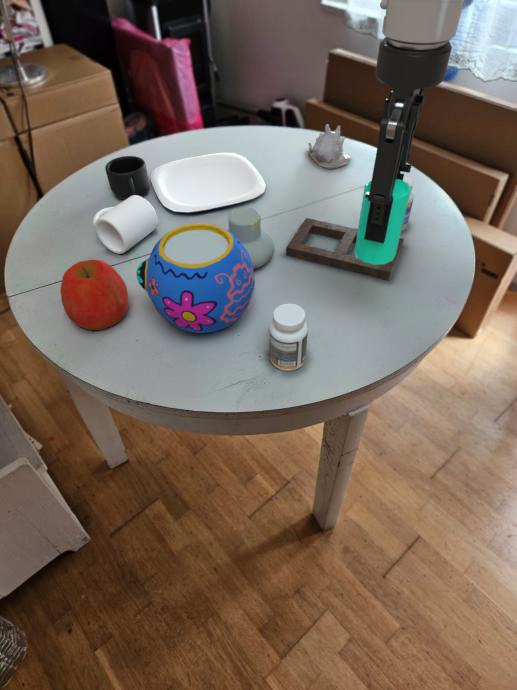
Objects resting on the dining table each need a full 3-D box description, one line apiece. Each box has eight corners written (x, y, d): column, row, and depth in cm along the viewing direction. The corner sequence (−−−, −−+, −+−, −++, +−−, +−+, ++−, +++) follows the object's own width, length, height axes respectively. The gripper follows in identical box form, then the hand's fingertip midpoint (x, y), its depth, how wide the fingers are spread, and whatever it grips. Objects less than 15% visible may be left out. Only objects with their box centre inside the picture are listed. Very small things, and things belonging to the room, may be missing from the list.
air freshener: (280, 256, 93) (281, 211, 86) (260, 280, 89) (259, 235, 81) (233, 241, 97) (230, 197, 90) (211, 263, 92) (206, 218, 85)
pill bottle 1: (286, 340, 78) (288, 295, 70) (312, 358, 75) (317, 313, 68) (262, 359, 75) (261, 314, 68) (288, 378, 72) (290, 334, 65)
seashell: (329, 174, 115) (332, 136, 109) (294, 158, 122) (296, 121, 115) (356, 161, 120) (361, 123, 113) (321, 146, 126) (324, 109, 119)
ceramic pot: (193, 272, 91) (182, 201, 80) (274, 301, 84) (274, 230, 73) (134, 328, 81) (112, 256, 70) (220, 366, 74) (211, 295, 63)
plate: (240, 153, 124) (239, 147, 123) (276, 200, 108) (276, 193, 106) (145, 172, 118) (143, 165, 117) (168, 224, 102) (166, 217, 101)
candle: (403, 251, 70) (422, 175, 61) (381, 270, 67) (397, 193, 58) (369, 236, 73) (382, 161, 64) (346, 253, 70) (357, 178, 61)
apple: (107, 286, 88) (91, 238, 80) (145, 310, 83) (132, 262, 76) (58, 317, 83) (36, 269, 75) (96, 346, 78) (76, 297, 70)
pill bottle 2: (399, 235, 97) (409, 192, 90) (376, 226, 100) (384, 183, 93) (411, 223, 100) (422, 181, 93) (389, 215, 103) (397, 173, 95)
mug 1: (110, 188, 113) (102, 159, 108) (147, 181, 115) (141, 152, 110) (117, 213, 106) (109, 183, 100) (156, 205, 107) (151, 176, 102)
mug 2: (161, 234, 99) (154, 200, 94) (129, 259, 94) (120, 224, 88) (119, 219, 104) (110, 185, 98) (86, 242, 98) (74, 208, 92)
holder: (402, 247, 95) (404, 238, 93) (388, 280, 88) (390, 272, 86) (305, 225, 101) (306, 217, 99) (286, 255, 94) (286, 247, 92)
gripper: (399, 14, 57) (370, 190, 74) (358, 62, 45) (335, 259, 62) (464, 19, 55) (419, 199, 72) (438, 71, 43) (391, 272, 60)
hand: (380, 227), depth 67 cm, fingers closed on candle, 6 cm apart
